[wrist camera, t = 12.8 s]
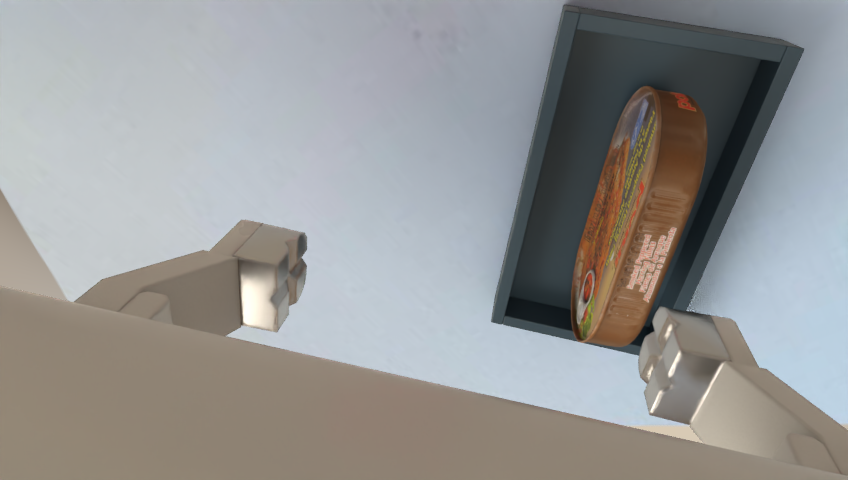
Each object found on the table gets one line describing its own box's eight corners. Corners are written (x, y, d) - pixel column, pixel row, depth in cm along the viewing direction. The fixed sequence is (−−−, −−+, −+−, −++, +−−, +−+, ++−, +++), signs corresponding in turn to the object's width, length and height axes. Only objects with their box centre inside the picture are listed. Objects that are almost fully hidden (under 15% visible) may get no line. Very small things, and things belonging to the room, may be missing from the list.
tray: (494, 298, 40) (490, 322, 38) (563, 4, 30) (564, 10, 28) (655, 333, 39) (663, 361, 37) (782, 39, 29) (805, 48, 27)
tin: (633, 69, 31) (658, 109, 24) (690, 79, 31) (734, 122, 23) (564, 289, 38) (567, 370, 31) (610, 299, 38) (624, 383, 31)
